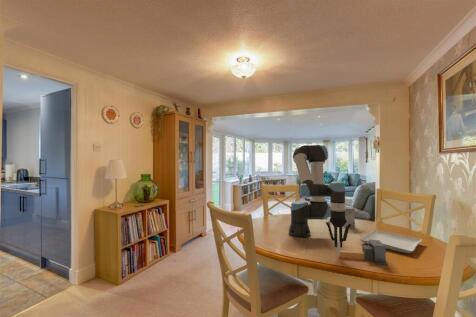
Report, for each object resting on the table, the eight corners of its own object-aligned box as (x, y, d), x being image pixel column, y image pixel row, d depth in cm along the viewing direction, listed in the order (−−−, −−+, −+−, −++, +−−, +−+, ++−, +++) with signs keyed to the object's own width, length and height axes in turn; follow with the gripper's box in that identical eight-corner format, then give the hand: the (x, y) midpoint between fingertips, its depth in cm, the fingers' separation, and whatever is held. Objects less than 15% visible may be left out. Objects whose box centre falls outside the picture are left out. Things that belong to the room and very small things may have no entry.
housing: (376, 264, 114) (376, 247, 114) (367, 253, 127) (367, 238, 127) (387, 265, 113) (387, 247, 113) (377, 254, 126) (377, 238, 126)
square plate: (374, 234, 161) (374, 229, 161) (423, 245, 140) (423, 238, 140) (359, 244, 143) (359, 238, 143) (413, 257, 122) (412, 250, 122)
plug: (340, 258, 122) (340, 247, 122) (339, 254, 127) (338, 243, 127) (381, 261, 117) (381, 250, 117) (377, 257, 122) (377, 246, 122)
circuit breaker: (348, 223, 190) (347, 205, 190) (355, 227, 176) (354, 208, 176) (338, 222, 191) (338, 205, 191) (345, 227, 177) (344, 208, 177)
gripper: (326, 211, 122) (326, 254, 122) (352, 212, 119) (353, 257, 119) (324, 208, 130) (325, 249, 129) (349, 209, 127) (349, 251, 126)
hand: (338, 253), depth 124 cm, fingers closed
